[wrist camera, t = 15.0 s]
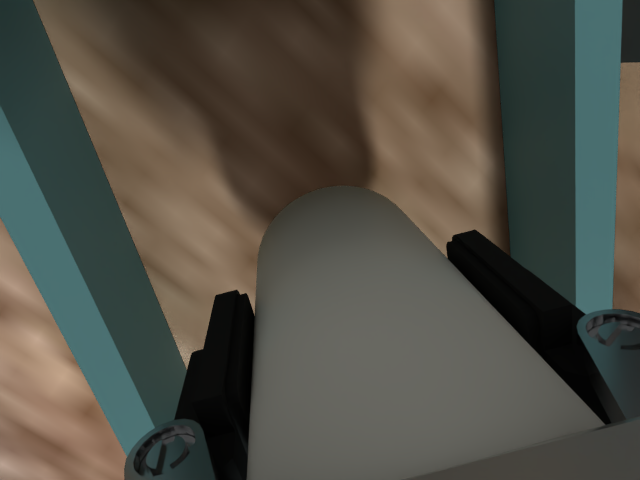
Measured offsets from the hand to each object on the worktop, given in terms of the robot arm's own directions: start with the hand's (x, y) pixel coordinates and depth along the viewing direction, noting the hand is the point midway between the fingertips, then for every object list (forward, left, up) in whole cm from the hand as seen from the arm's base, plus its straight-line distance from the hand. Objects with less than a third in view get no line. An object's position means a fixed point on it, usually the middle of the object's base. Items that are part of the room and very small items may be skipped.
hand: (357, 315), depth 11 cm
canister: (0, 0, -3) cm, 3 cm away
